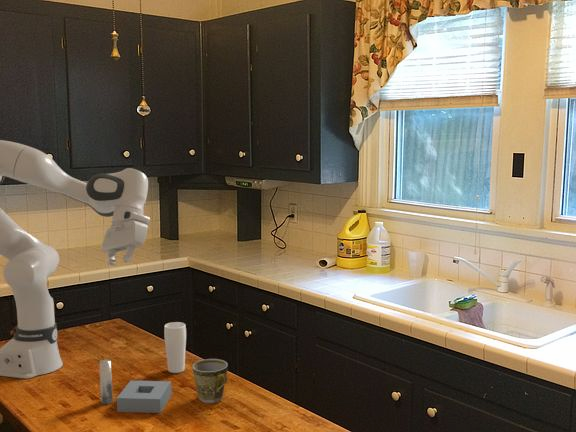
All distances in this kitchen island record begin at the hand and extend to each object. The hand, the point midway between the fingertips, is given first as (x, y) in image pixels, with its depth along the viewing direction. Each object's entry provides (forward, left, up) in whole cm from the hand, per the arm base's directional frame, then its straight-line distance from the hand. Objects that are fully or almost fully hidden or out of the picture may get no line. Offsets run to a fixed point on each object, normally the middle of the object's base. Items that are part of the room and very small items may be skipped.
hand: (118, 263), depth 193 cm
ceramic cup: (+30, -13, -37) cm, 49 cm away
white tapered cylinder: (+14, +8, -37) cm, 40 cm away
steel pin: (0, -16, -37) cm, 40 cm away
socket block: (+11, -16, -37) cm, 41 cm away
